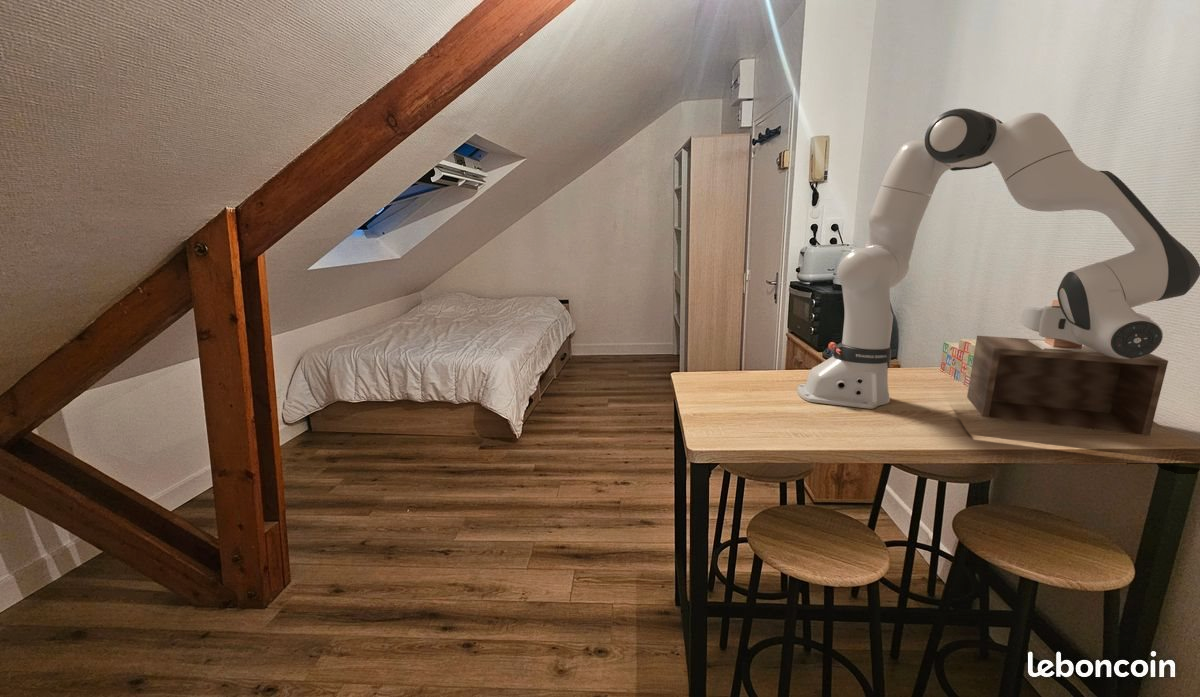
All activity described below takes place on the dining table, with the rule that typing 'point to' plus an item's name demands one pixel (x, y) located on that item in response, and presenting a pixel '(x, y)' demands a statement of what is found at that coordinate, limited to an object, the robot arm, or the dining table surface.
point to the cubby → (1064, 385)
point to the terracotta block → (1061, 342)
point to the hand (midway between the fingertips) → (1067, 314)
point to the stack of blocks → (959, 359)
